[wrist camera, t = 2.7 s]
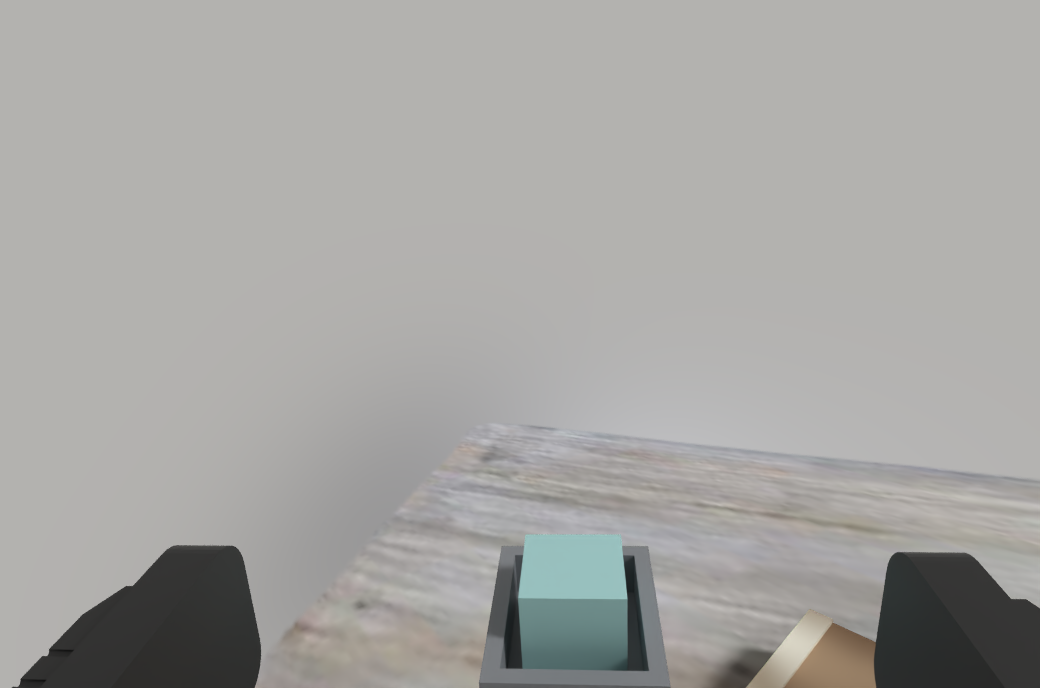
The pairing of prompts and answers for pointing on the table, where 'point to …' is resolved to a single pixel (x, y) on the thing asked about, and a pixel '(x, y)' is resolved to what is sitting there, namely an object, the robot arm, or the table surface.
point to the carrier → (511, 684)
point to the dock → (819, 658)
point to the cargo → (573, 603)
